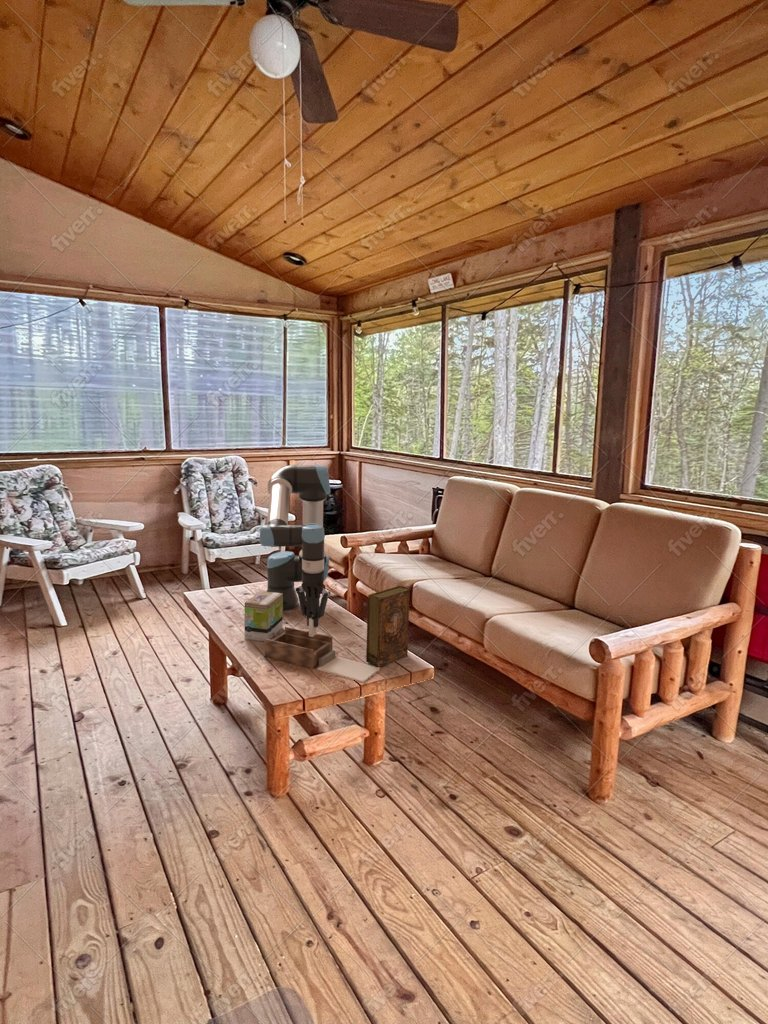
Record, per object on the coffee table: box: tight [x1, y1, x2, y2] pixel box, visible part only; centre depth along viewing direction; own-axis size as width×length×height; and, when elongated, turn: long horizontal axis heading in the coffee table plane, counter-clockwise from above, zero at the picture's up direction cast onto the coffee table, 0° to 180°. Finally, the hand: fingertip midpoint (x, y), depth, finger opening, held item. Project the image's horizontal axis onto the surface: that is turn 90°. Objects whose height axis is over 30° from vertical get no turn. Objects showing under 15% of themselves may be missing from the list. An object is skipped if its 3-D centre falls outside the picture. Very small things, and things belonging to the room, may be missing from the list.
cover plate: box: [317, 649, 381, 684], centre depth 198 cm, size 18×11×4 cm, turn 61°
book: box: [365, 585, 411, 668], centre depth 205 cm, size 16×6×25 cm, turn 135°
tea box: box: [243, 590, 284, 642], centre depth 226 cm, size 15×10×15 cm, turn 168°
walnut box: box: [263, 626, 334, 670], centre depth 207 cm, size 20×13×7 cm, turn 65°
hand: (312, 635), depth 204 cm, fingers closed
